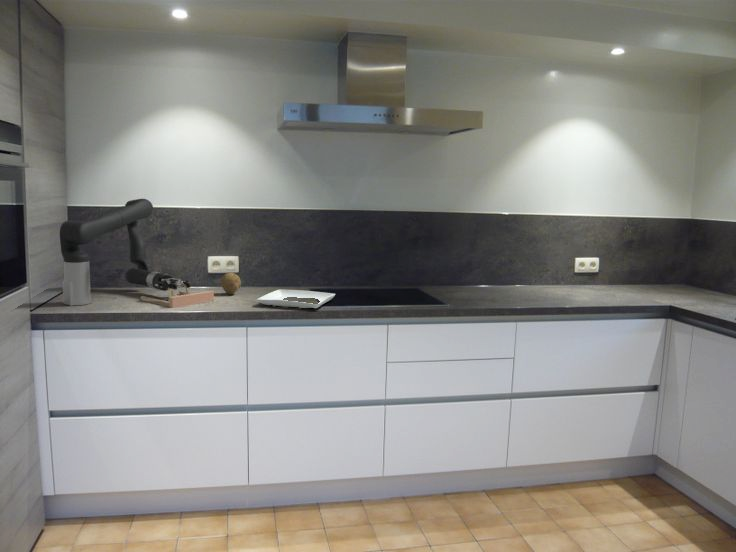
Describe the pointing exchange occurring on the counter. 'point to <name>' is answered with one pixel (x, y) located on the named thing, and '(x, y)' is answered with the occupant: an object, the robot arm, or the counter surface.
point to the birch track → (160, 300)
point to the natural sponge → (230, 283)
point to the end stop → (191, 299)
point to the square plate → (279, 295)
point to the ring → (180, 284)
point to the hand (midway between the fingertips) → (182, 286)
